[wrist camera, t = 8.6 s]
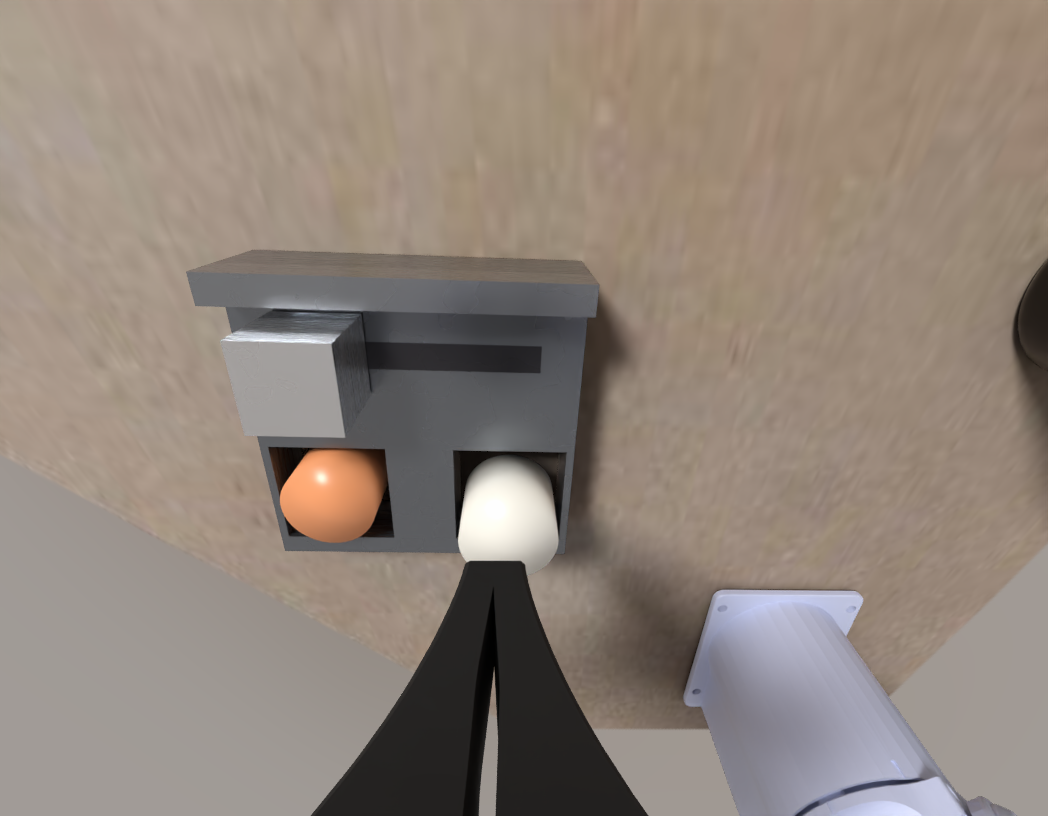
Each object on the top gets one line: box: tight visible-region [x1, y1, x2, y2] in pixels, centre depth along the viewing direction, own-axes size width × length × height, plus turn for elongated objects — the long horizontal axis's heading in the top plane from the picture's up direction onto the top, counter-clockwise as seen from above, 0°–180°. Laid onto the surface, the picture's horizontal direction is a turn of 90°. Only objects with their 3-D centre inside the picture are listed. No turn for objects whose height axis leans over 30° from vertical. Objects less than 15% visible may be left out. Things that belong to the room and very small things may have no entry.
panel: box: [186, 250, 599, 554], centre depth 19 cm, size 12×12×4 cm
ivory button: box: [458, 455, 558, 576], centre depth 19 cm, size 4×4×3 cm
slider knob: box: [220, 311, 371, 438], centre depth 15 cm, size 3×3×3 cm
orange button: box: [280, 448, 388, 543], centre depth 20 cm, size 4×4×3 cm
